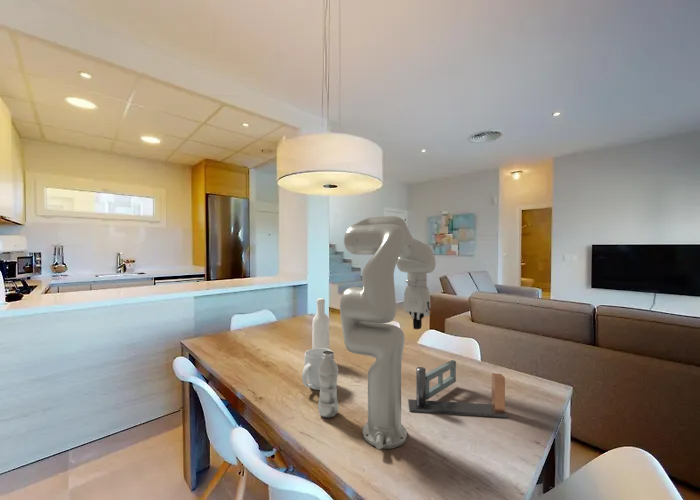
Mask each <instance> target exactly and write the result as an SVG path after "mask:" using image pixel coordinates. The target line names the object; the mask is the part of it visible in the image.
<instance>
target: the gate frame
mask: <svg viewBox="0 0 700 500" xmlns="http://www.w3.org/2000/svg"><path fill="white" fill-rule="evenodd" d="M415 369H416V370H415V371H416V374H415V375H416V378H415V379H416V384H415V385H416V387H415V388H416V389H415V390H416V393H415V396H416V397H415V398H416V399H410V398H409V399H407V401H408V409H409V412H410V413H411V412H412V413H424V414H425V413H426V414H441V415H457V416H469V417H470V416H472V417H486V418H487V417H488V418H499V419H500V418H502V419H503V418H504V419H507V418H508V415H507V413H506V377H505V376H504V375H503V374H502V373H491V404H489V403H479V402H478V403H477V402H476V403H475V402H462V401H461V402H457V401H443V400H441V401H440V400H429V399H428V400H426V373H427V371H426V368H425V367H424V366H423V367H422V366H418V367H416V368H415Z"/></svg>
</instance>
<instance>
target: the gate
mask: <svg viewBox="0 0 700 500" xmlns="http://www.w3.org/2000/svg"><path fill="white" fill-rule="evenodd" d="M456 369H457V362H456V360H454V359H453V360H452V359H451V360H448V361H447V362H446V363H443V364H442V365H440V366H438V367H435V368H434V369H432V370H430V371H428V372H426V400H428V401H429V399H431V398H432V397H434V396H435V395H437V394H439V393H441V391H443V390H445V389H446V388H448V387H450V386H451V385H453V384H455V383H456V382H457V371H456ZM448 371H449V377H447V378H445V379H443V378H444V373H447V372H448ZM436 378H437V384H435V385H434V386H432V387H430V381H432V380H434V379H436Z"/></svg>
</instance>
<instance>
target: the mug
mask: <svg viewBox="0 0 700 500" xmlns="http://www.w3.org/2000/svg"><path fill="white" fill-rule="evenodd" d="M324 351H332V350H331V349H330V348H329V349H326V348H314V349H312V348H311V349H308V350H305V352H304V359H303V360H304V361H303V362H304V366H303V370H302V373H301V379H302V381H301V382H302V384H303V386H305V388H310V389H312V390H314V391H320V380H319V373H318V368H319V365H320V364H321V362H322V361H323V359H322V353H323V352H324Z"/></svg>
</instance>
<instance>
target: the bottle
mask: <svg viewBox="0 0 700 500" xmlns="http://www.w3.org/2000/svg"><path fill="white" fill-rule="evenodd" d="M325 302H326V301H325V298H323V297H321V298H320V297H318V298H317V299H316V314H315V315H314V316H313V319H312V321H311V322H312V323H311V325H312V330H311V331H312V334H311V335H312V337H311V338H312V339H311V340H312V341H311V342H312V344H311V345H312V348H311V349H314V348H326V349H330V320H329V316H328V315H326V313H325V311H326V310H325V307H326V306H325V304H326V303H325Z"/></svg>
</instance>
